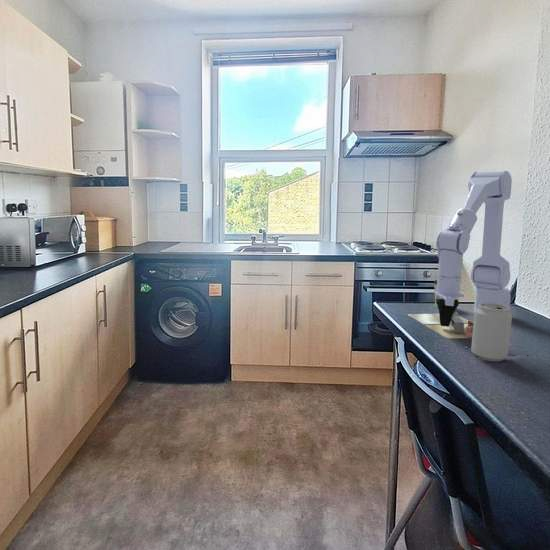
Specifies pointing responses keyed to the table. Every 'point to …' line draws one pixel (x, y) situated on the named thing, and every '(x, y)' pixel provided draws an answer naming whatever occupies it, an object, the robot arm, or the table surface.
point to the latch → (456, 323)
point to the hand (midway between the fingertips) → (444, 325)
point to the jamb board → (434, 324)
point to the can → (491, 331)
